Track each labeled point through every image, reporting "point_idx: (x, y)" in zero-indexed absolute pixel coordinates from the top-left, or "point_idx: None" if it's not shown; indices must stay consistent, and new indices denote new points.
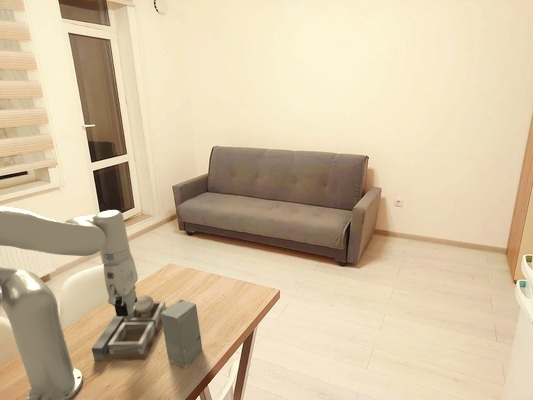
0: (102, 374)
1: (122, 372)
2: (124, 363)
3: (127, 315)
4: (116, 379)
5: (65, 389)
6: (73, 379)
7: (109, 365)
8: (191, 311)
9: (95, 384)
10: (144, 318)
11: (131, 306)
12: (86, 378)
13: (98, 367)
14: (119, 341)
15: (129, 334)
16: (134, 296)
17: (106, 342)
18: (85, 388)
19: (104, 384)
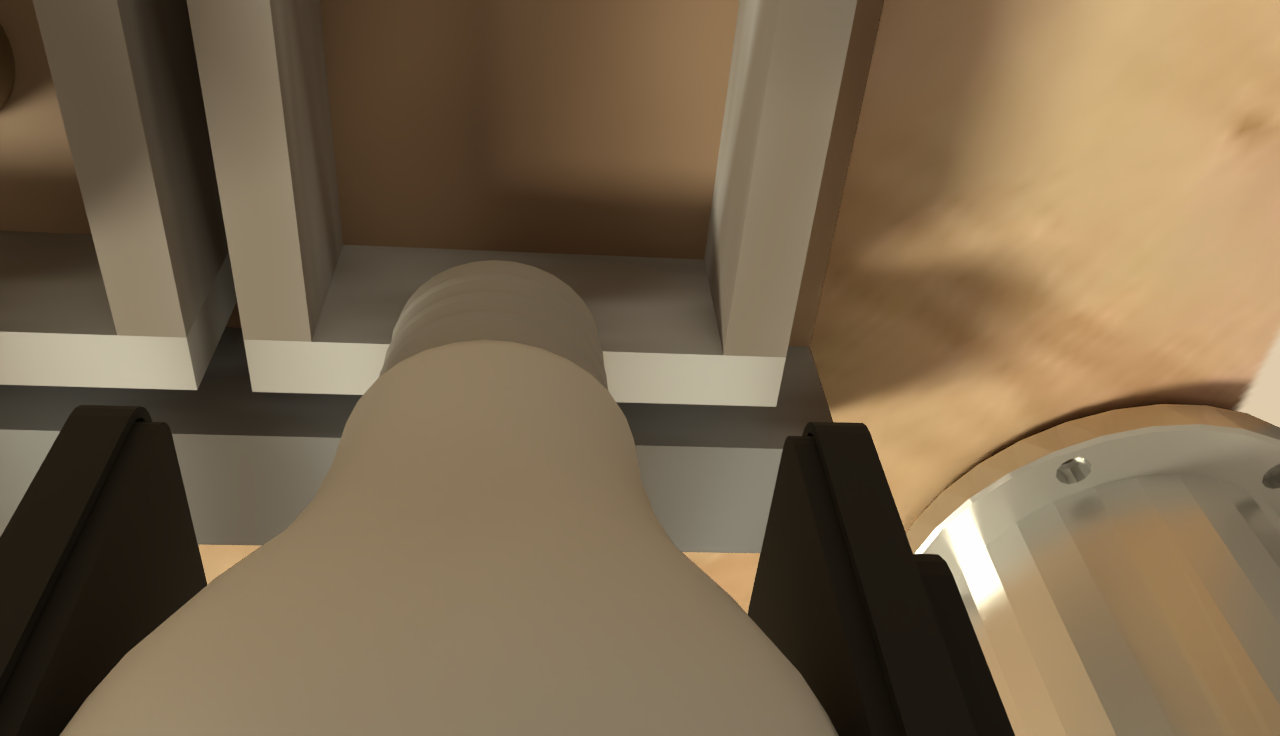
0: (1032, 265)
1: (1082, 33)
2: (913, 66)
3: (861, 425)
4: (1183, 69)
5: (1267, 519)
6: (1166, 511)
7: (901, 243)
8: None
9: (1167, 279)
10: (78, 55)
11: (576, 482)
12: (1038, 397)
13: (902, 348)
14: (569, 282)
15: (353, 202)
16: (494, 706)
17: (708, 436)
18: (1185, 351)
19: (1210, 183)
